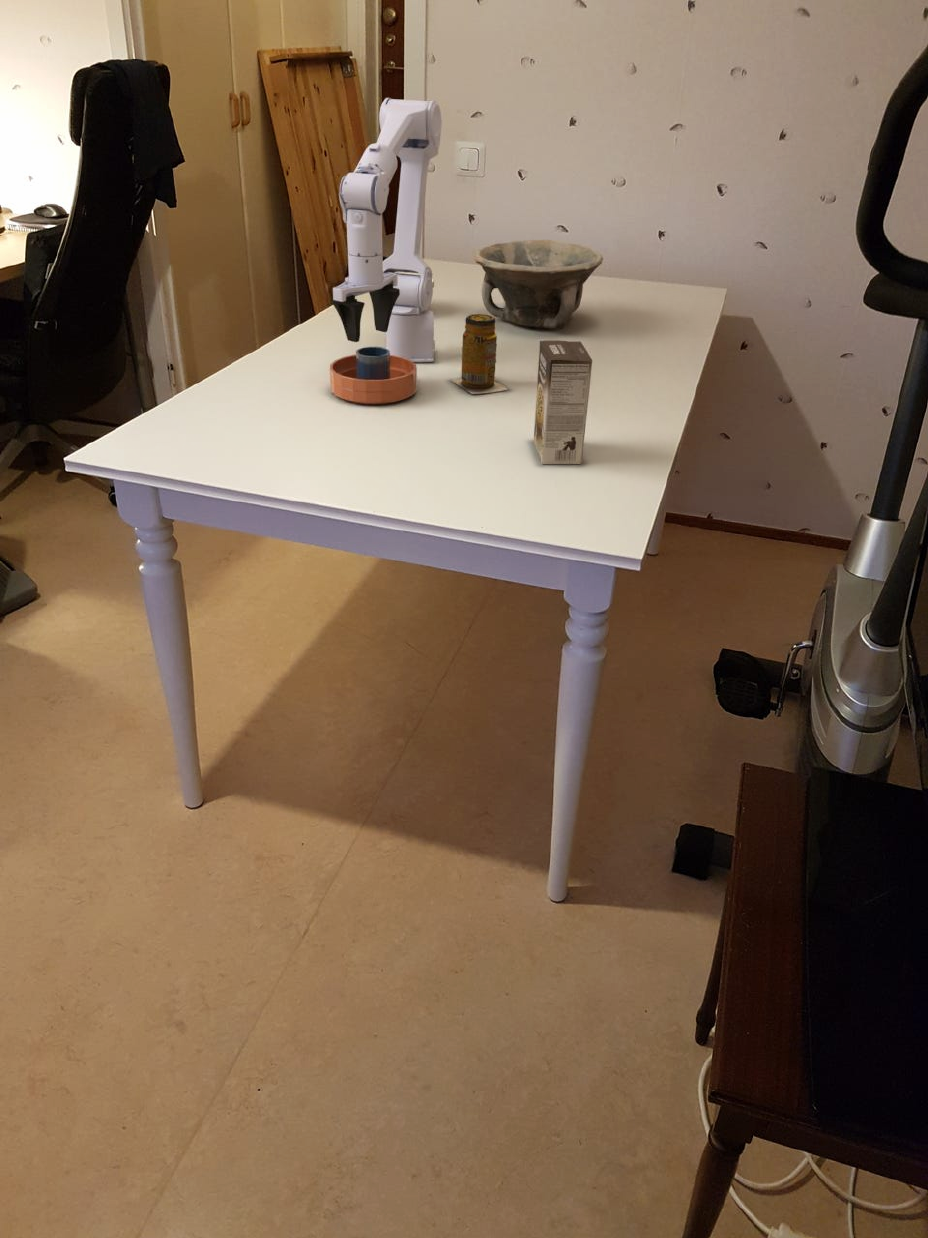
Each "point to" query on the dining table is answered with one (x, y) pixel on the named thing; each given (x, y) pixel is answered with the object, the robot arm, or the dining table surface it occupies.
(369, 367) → the cup
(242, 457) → the dining table surface
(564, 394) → the coffee box
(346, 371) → the clay bowl
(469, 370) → the condiment
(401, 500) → the dining table surface
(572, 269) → the bowl
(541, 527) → the dining table surface
